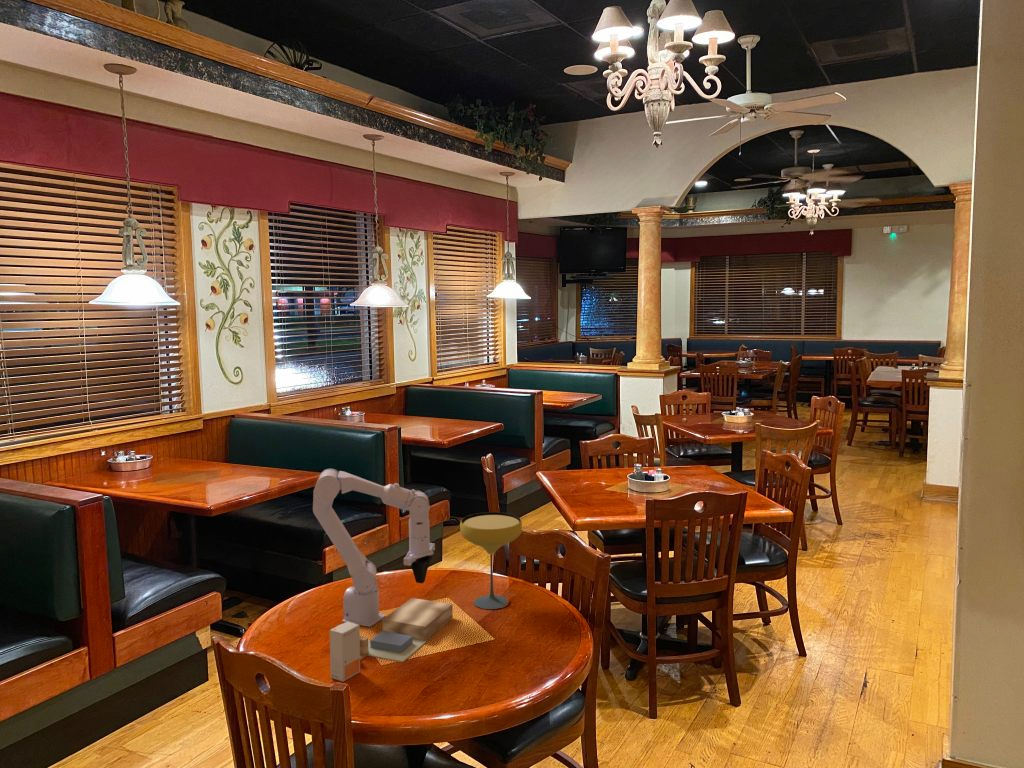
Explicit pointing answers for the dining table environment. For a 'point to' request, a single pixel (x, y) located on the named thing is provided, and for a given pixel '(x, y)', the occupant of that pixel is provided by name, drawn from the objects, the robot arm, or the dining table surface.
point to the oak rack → (363, 647)
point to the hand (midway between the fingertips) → (420, 582)
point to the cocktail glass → (491, 543)
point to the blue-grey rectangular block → (391, 642)
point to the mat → (393, 655)
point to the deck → (418, 618)
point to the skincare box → (345, 651)
